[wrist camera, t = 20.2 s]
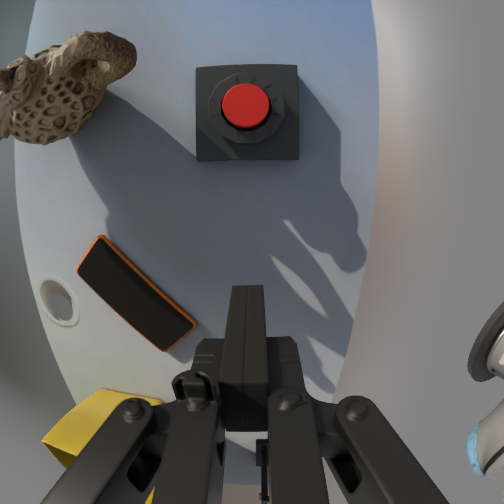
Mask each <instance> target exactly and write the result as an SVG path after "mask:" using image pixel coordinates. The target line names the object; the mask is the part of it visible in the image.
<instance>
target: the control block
mask: <svg viewBox="0 0 504 504" xmlns="http://www.w3.org/2000/svg"><path fill="white" fill-rule="evenodd" d="M239 84H252V85H255V86H258V87H259V88H261V89H262V90H263V91H264V92H265V94H266V95H267V97H268V100H269V110H268V113H267V116H266V118H265V119H264V121H263V122H262V123H260V124H259V125H257V126H255V127H252V128H240V127H237V126H235V125H233V124H232V123H231V122H230V121H229V120H228V119H227V118H226V116H225V114H224V112H223V107H222V103H223V99H224V96H225V95H226V93H227V92H228V91H229V90H230V89H231V88H233V87H234V86H236V85H239ZM196 154H197V162H202V161H224V160H299V112H298V77H297V65H282V64H242V65H221V66H208V67H197V68H196Z"/></svg>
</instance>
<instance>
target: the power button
mask: <svg viewBox="0 0 504 504" xmlns="http://www.w3.org/2000/svg"><path fill="white" fill-rule="evenodd" d="M222 107H223V112H224V114H225V116H226V118H227V119H228V120H229V121H230V122H231V123H232V124H233V125H235V126H237V127H240V128H252V127H255V126H257V125H259V124H260V123H262V122H263V121H264V119H265V118H266V116H267V113H268V110H269V100H268V97H267V95H266V94H265V92H264V91H263V90H262V89H261V88H259V87H258V86H255V85H252V84H239V85H236V86H234V87H233V88H231V89H230V90H229V91H228V92H227V93H226V95H225V96H224V99H223V103H222Z"/></svg>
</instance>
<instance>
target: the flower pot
mask: <svg viewBox="0 0 504 504" xmlns="http://www.w3.org/2000/svg"><path fill="white" fill-rule="evenodd" d="M134 397H138V398H143V399H145V400H147V401H148V402H149V403H150V404H151V406H154V405H161V404H165V403H164V402H163V401H161V400H159V399H152V398H146V397H140V396H134V395H129V394H124V393H119V392H114V391H110V390H105V389H101V390H99V391H97V392H96V393H94V394H92V395H91V396H89V397H88V398H87V399H85V400H84V401H82V402H81V403H80V404H78V405H77V406H76V407H74V408H73V409H72V410H71V411H70V412H69V413H67V414H66V415H65V416H64V417H63V418H62V419H61V420H60V421H59V422H58V423H57V424H56V425H55V426H54V427H53V428H52V429H51V430H50V431H49V432H48V434H47V435H46V436H45V437H44V439H43V440H42V443H43V444H44V445H45V447H46V448H47V449H48V450H49V451H50V452H51V454H52V455H53V456H54V457H55V458H56V459H57V460H58V461H59V462H60V463H61V464H62V465H63V467H64V468H66V470H67V468H68V467H69V466H70V464H71V463H72V462H73V461H74V459H75V458H76V457H77V455H78V454H79V453H80V452H81V450H82V449H83V448H84V447H85V445H86V444H87V443H88V441H89V440H90V439H91V438H92V436H93V435H94V434H95V433H96V431H97V430H98V429H99V428H100V426H101V425H102V424H103V423H104V421H105V420H106V419H107V417H108V416H109V415H110V414H111V412H112V411H113V410H114V409H115V407H116V406H117V405H118V404H119V403H120V402H122V401H123V400H126V399H128V398H134ZM154 489H155V486H154V488H153V490H152V492H151V494H150V495H149V497H148V499H147V500H146V502H145V504H151V502H152V497H153V493H154Z"/></svg>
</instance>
